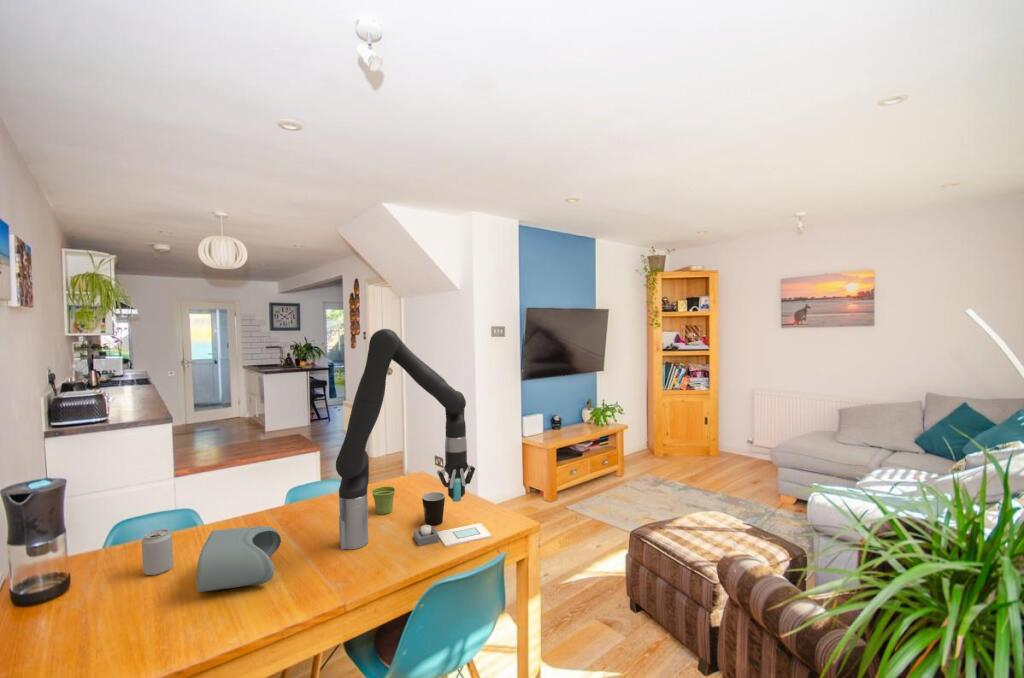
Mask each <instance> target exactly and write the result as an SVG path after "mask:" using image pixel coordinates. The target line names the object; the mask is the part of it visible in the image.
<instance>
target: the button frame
mask: <svg viewBox="0 0 1024 678" xmlns="http://www.w3.org/2000/svg"><path fill="white" fill-rule="evenodd" d="M437 532H438V531H437V530H436V529H435V527H434V526H431V535H427V536H422V537H421V528H420V529H417V530H416V529H415V530H413V539H414V540H415V542H416V544H417V546H418V547H421V546H426V545H427V546H428V545H431V544H435V543H436V544H437V543H439V542H440V538H439V535H438V533H437Z"/></svg>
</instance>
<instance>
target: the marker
mask: <svg viewBox="0 0 1024 678" xmlns="http://www.w3.org/2000/svg"><path fill="white" fill-rule="evenodd" d="M451 500H452V502H461V501H462V497H461V477H456V478H455V480H454V483H453V498H452V499H451Z"/></svg>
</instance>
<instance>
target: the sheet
mask: <svg viewBox="0 0 1024 678" xmlns="http://www.w3.org/2000/svg"><path fill="white" fill-rule="evenodd" d="M436 532H437V533H438V535H439V541H441V543H442V545H444V546H443V547H445V548H446V547H452V546H457V545H461V544H466V543H469V542H475V541H479V540H484V539H489V538H493V535H492V534H491V533H490V532H489V530H488V529H487V527H485V526H484V524H482V523H481V522H478V523H474V524H470V525H469V524H468V525H464V526H460V527H455V528H449V529H444V530H440V531H436Z"/></svg>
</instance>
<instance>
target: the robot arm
mask: <svg viewBox="0 0 1024 678" xmlns="http://www.w3.org/2000/svg"><path fill="white" fill-rule="evenodd" d="M369 339H370V340H369V343H368V351H367V357H366V362H365V366H364V370H363V373H362V376H361V378H360V381H359V384H358V387H357V389H356V392H355V396H354V399H353V403H352V407H351V411H350V415H349V418H348V423H347V429H346V433H345V437H344V440H343V443H342V445H341V447H340V451H339V452H338V454H337V457H336V460H335V469H336V473H337V474H338V475H339V477H341V480H340V485H339V487H338V503H339V504H338V506H339V509H338V510H339V515H338V528H339V529H338V536H339V539H338V540H339V545H340V549H341V551H342V550H356V549H360V548H361V549H362V548H363V547H366V545H367V544H369V510H368V509H369V508H368V507H369V504H368V502H369V501H368V486H369V480H370V469H369V468H370V466H369V465H370V461H369V454H368V451H367V450H366V447H367V443H368V441H369V438H370V436H371V433H372V431H373V429H374V427H375V425H376V423H377V420H378V419H379V415H380V414H381V409H382V406H383V402H384V398H385V394H386V384H387V375H388V371H389V368H390V365H391V362H392V361H393V362H394V363H396V364H397V365H398V366H400V368H402V369H404V371H405V372H406V373H407V374H408V375H409V376H410V377H411V378H412V379H413V381H415V383H416V384H417V385H418V386H420V388H422V389H423V390H424V391H425V392H427V393H428V394H429V395H431V396H432V397H434V398H435V399H436V400H437V401H438V403H439V404H440V405H441V406H442V407H443V408H444V409H445V440H444V452H445V453H444V457H445V460H444V461H445V465H444V466H443V468H442V469H441V470H440V469H438V470H437V471H436V474H437V475H438V477H439V480H440V482H441V484H442V486H443V487H444V488H447V495H448V497H449V498H450V499H451V500H452V498H453V483H454V480H455V478H456V477H461V498H462V497H464V495H465V494H466V486H467V485H469V484H471V481H472V479H473V477H474V476H473V475H474V474H475V470H476V468H475V467H474V466H473V465H469V463H468V454H467V453H468V445H467V444H468V443H467V435H466V434H467V430H466V427H467V425H466V421H465V408H466V405H467V401H466V398H465V396H464V394H463V393H462V392H460V391H458V390H456V389H455V388H453V387H452V386H451V385H449V384H448V382H447V380H445V379H444V378H443V377H442V376H441V375H440V374H439V373H438V372H436V371H435V369H432V367H430V366H429V365H428V364H426V363H425V362H424V361H423V360H422V359H421V358H419V357H418V356H417V355H416V354H415V353H413V351H411V350H410V349H409V347H408V346H407V345H406V344H405V343H404V342H403V341H402V339H401V338H400V337H399V336H398V334H397V333H396V332H395V331H393V330H392V329H390V328H389V329H388V328H383V329H382V328H381V329H378V330H376V331H375V332H374V333H373V334H372V335H371V337H370V338H369ZM466 472H467V473H466ZM446 474H447V480H446V478H445V476H446ZM465 474H466V476H465Z"/></svg>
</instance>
